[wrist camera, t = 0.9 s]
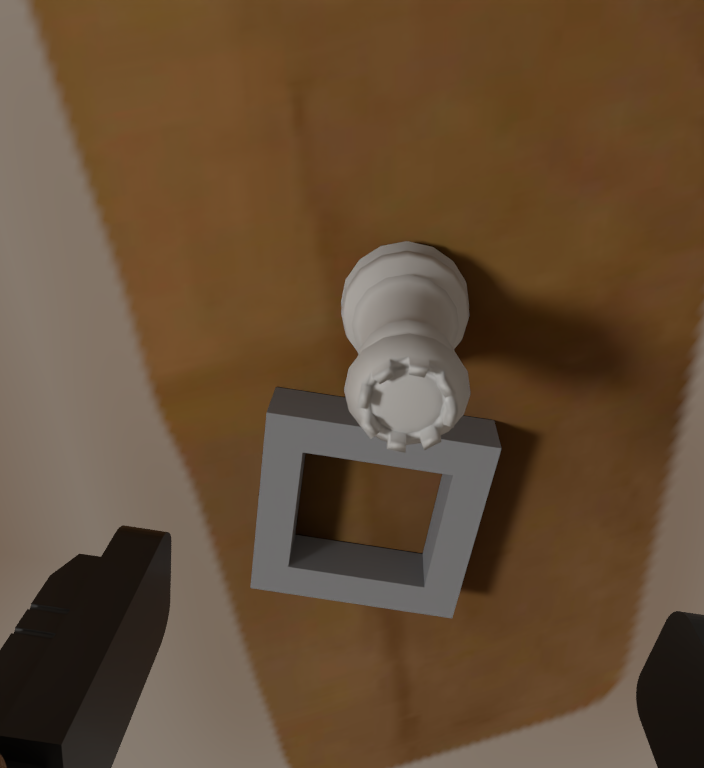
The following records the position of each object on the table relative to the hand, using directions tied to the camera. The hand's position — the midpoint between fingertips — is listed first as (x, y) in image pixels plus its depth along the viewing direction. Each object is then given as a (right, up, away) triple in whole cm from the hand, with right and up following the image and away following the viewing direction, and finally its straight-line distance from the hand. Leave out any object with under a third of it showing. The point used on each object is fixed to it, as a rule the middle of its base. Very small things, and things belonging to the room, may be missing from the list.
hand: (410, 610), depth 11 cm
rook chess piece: (+1, +7, +13) cm, 15 cm away
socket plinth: (0, -1, +17) cm, 17 cm away
